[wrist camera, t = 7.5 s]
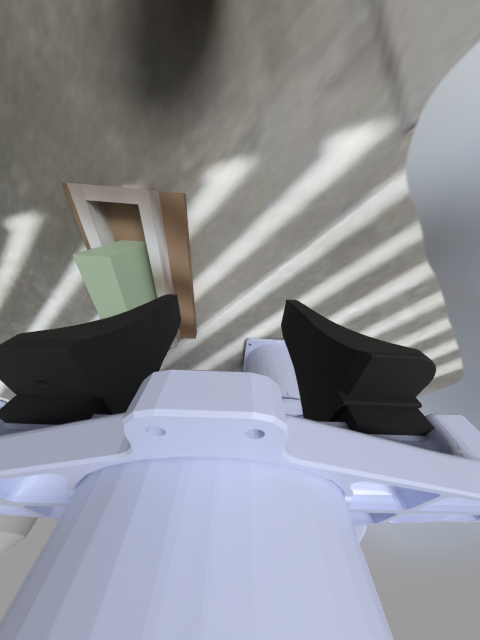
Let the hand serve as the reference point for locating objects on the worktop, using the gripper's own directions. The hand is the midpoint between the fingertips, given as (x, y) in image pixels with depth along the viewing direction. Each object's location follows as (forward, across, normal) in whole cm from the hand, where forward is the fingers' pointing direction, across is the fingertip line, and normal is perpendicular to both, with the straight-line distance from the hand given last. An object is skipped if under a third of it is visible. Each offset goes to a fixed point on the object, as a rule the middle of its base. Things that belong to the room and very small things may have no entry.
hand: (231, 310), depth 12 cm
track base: (+9, +10, +1) cm, 14 cm away
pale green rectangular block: (+8, +10, +2) cm, 13 cm away
